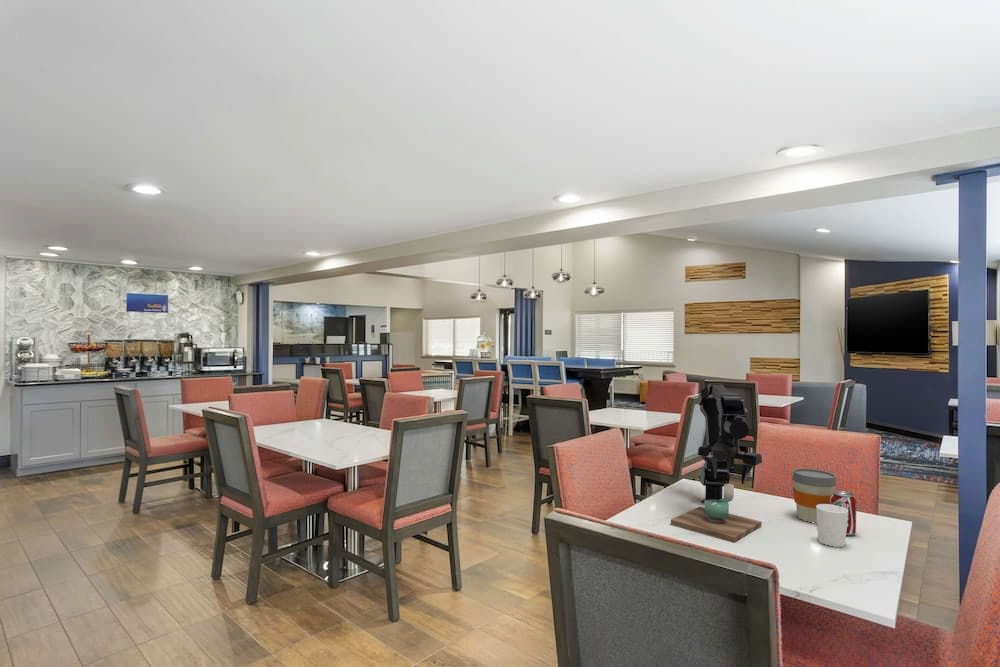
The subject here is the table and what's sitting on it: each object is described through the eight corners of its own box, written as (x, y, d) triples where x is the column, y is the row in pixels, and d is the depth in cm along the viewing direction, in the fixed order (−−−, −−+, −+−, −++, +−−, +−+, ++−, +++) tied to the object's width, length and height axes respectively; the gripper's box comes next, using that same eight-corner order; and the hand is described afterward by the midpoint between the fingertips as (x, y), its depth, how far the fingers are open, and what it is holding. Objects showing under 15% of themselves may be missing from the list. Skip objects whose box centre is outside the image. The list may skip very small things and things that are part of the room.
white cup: (845, 550, 154) (846, 514, 154) (813, 543, 159) (814, 508, 159) (848, 542, 160) (849, 507, 160) (817, 535, 165) (818, 502, 165)
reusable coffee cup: (824, 514, 186) (825, 469, 185) (843, 527, 173) (844, 479, 173) (785, 512, 187) (785, 467, 187) (801, 524, 174) (802, 477, 174)
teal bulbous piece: (719, 504, 182) (720, 481, 182) (741, 509, 177) (741, 486, 177) (700, 513, 172) (700, 489, 172) (722, 519, 167) (723, 494, 167)
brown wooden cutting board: (699, 510, 186) (700, 501, 186) (761, 526, 172) (761, 516, 172) (670, 524, 172) (670, 514, 172) (735, 542, 158) (735, 531, 158)
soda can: (848, 529, 171) (849, 490, 171) (860, 537, 164) (861, 497, 164) (825, 528, 172) (826, 489, 172) (836, 536, 165) (837, 496, 165)
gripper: (690, 431, 179) (689, 479, 180) (749, 440, 166) (748, 492, 166) (705, 428, 187) (704, 473, 187) (763, 436, 174) (762, 485, 174)
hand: (728, 481), depth 179 cm, fingers open, 9 cm apart
